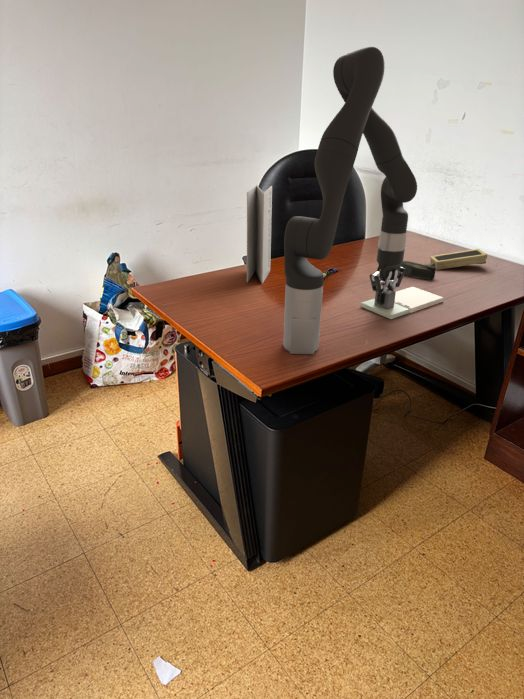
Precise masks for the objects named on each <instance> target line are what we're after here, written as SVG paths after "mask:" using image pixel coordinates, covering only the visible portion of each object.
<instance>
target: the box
mask: <svg viewBox="0 0 524 699" xmlns="http://www.w3.org/2000/svg"><path fill="white" fill-rule="evenodd" d="M429 259H430V263H428V264H424V265H427V266H432V267H435V268H436V271H438V270H444V269H445V270H446V269H451V268H459V267H461V268H465V267H467V266H470V265H471V266H472V265H483V264H486V263H487V259H488V254H487V253H485V252H484V251H483V250H481V249H480V248H475V249H469V250H463V251H456V252H455V251H454V252H449V253H444V254H438V255H431V256H429Z"/></svg>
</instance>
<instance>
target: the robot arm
mask: <svg viewBox="0 0 524 699" xmlns="http://www.w3.org/2000/svg"><path fill="white" fill-rule="evenodd" d="M385 64H386V63H385V58H384V55H383V52H382V50H380V49H379V48H378V47H375V46H368V47H363V48H360V49H357V50H354V51H352V52H348V53H346V54H343V55H342V56H340V57H339V58H337V59H336V61H335V63H334V66H333V70H332V72H333V73H332V75H333V81H334V84H335V88H336V89H337V91H338V93H339V95H340V96H341V98H342V100H343V102H344V104H343V106H342V107H341V108H340V110H339V111H338V112H337V113H336V115H335V116H334V118H332V120H331V121H330V122H329V125H327V126H326V129H325V130H324V132H323V134H322V135H321V138H320V141H319V145H318V148H317V150H316V155H315V159H314V170H315V171H314V172H315V175H316V178H317V181H318V184H319V188H320V191H321V195H322V210H321V215H320V217H319V218H316V217H315V218H314V217H310V216H309V217H307V216H299V215H297V216H296V215H295V216H292V217H291V218H290V219H289V220H288V221H287V222H286V226H285V231H284V238H283V250H284V251H283V252H284V264H283V265H284V268H283V269H284V275H285V287H284V288H285V290H284V291H285V294H284V315H283V316H284V318H283V320H284V321H283V340H282V342H283V344H282V345H283V346H282V347H283V348H284V350H286V351H287V352H289V354H291V355H293V354H294V355H315V352H317V350H319V347H320V346H319V345H320V337H321V336H320V334H321V333H320V332H321V319H322V308H323V307H322V306H323V295H324V294H323V292H324V291H323V290H324V281H325V280H324V279H325V277H324V274H323V272H322V271H321V270H320V268H316V267H315V266H314V265H313V264H311V262H309V260H308V259H313V260H319V261H322V260H325V259H327V257H328V256H329V254H330V253H331V250H332V248H333V245H334V240H335V237H336V232H337V228H338V223H339V217H340V213H341V210H342V205H343V201H344V198H345V194H346V190H347V186H348V183H349V181H350V177H351V174H352V172H353V168H354V165H355V162H356V159H357V155H358V153H359V152H358V151H359V148H360V145H361V140H362V136H364V138H365V140H366V143H367V145H368V147H369V150H370V152H371V153H370V154H371V156H372V158H373V160H374V163H375V166H376V168H377V169H378V171H379V172H381V173H382V174H383V175H385V177H384V178H383V180H382V184H381V188H380V201H381V211H382V218H381V227H380V233H379V237H378V245H377V254H376V262H377V264H378V266H377V269H376V272H375V273H370V274H369V280H370V284H371V289H372V291H373V292H375V293H376V292H377V303H378V304H380V305H383V304H384V299H385V291H386V288H387V289H389V290H392V291H395V290H396V288H400V285H401V283H402V281H403V279H404V276H405V275H404V274H405V271H406V268H403V267H400V265H401V264H402V263H403V261H404V257H405V250H406V243H407V228H408V222H409V221H408V220H409V213H408V212H407V210H406V209H405V208H404V204H405V203H409V202H410V201H412V200H413V199H414V198H415V197H416V195H417V193H418V183H417V179H416V177H415V175H414V173H413V171H412V169H411V167H410V166H409V164H408V162H407V161H406V159H405V157H404V156H403V153H402V150H401V147H400V145H399V141H398V139H397V136H396V134H395V132H394V130H393V128H392V126H390V125H389V124H388V123H387V122H386V121H385V119H384V118H382V117H381V116H380V114H378V113H377V112H376V110H375V109H374V108H373V106H374V103H375V100H376V98H377V95H378V93H379V91H380V89H381V85H382V82H383V79H384V77H385V69H386V66H385ZM381 287H382V289H381Z"/></svg>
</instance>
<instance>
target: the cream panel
mask: <svg viewBox="0 0 524 699" xmlns="http://www.w3.org/2000/svg"><path fill="white" fill-rule="evenodd" d="M395 292H396V294H395V301H394V303H395V304H397V305H400V306H403V307H405V308H408V309H409V313H408V314H411V313H415V312H417V311H420V310H423V309H425V308H429V307H432V306H434V305H438V304H440V303H443V302H444V297H443V296H441V295H437V294H435V293H432V292H429V291H426V290H423V289H422V288H418V287H415V286H410V287H407V288H403V289H401V290H397V291H395Z"/></svg>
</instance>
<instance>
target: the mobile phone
mask: <svg viewBox="0 0 524 699" xmlns="http://www.w3.org/2000/svg"><path fill="white" fill-rule="evenodd" d="M427 265H428V264H426V265H425V264H423V263H418V262H414V261H411V260H403V263H402V264H401V265H400V267H403V268H406V271H405V274H404V276H408V277H413V278H417V279H422V280H428V281H432V280H434V279H435V277H436V271H437V270H436V268H435V267H432V266H427Z"/></svg>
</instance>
